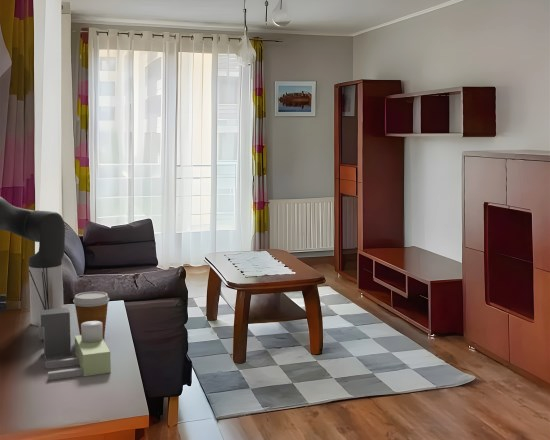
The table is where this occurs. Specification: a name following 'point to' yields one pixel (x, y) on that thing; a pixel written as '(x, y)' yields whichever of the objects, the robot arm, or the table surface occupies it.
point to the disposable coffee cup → (91, 308)
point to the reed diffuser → (40, 329)
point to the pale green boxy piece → (85, 354)
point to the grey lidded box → (56, 332)
